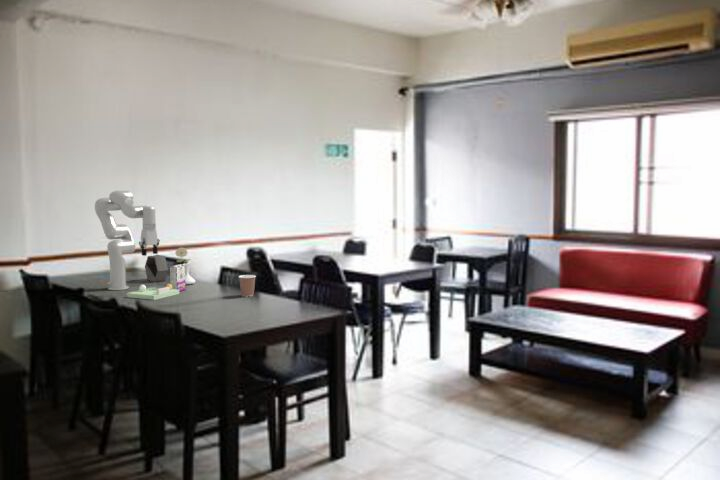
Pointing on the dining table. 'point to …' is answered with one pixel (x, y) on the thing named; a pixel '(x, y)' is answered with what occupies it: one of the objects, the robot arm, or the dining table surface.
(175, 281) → the candy bar box
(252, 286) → the coffee cup
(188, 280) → the flower in vase
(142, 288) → the white ball
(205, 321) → the dining table surface
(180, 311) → the dining table surface
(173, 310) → the dining table surface
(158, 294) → the green deck
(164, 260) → the planter
